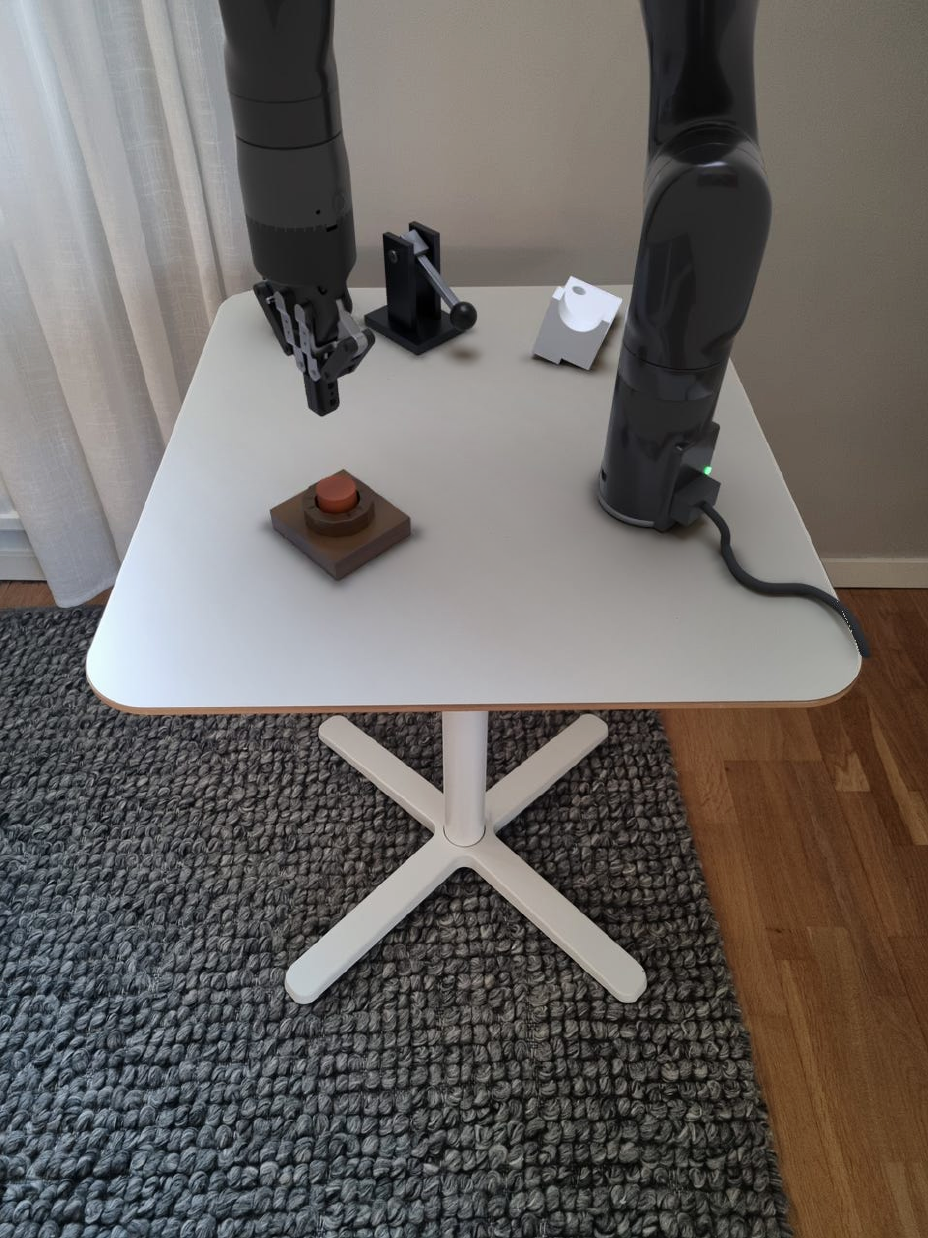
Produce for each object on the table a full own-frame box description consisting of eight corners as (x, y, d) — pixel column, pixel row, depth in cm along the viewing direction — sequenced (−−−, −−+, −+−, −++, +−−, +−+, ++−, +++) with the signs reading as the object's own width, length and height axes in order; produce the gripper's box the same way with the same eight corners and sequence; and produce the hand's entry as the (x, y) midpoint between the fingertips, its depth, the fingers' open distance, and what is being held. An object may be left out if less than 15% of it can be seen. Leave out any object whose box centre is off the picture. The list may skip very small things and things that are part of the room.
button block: (411, 534, 83) (409, 502, 80) (337, 580, 79) (332, 548, 76) (345, 485, 88) (341, 453, 85) (272, 527, 84) (265, 494, 81)
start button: (365, 502, 81) (363, 487, 79) (334, 520, 79) (332, 505, 78) (340, 484, 82) (339, 469, 81) (310, 501, 81) (308, 486, 79)
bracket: (585, 376, 103) (609, 323, 97) (531, 351, 103) (552, 296, 97) (611, 323, 111) (635, 270, 105) (561, 300, 111) (582, 246, 105)
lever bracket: (465, 331, 108) (466, 236, 99) (417, 355, 104) (414, 259, 95) (412, 301, 113) (408, 208, 104) (364, 323, 109) (356, 229, 100)
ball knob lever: (476, 330, 103) (486, 313, 100) (456, 340, 101) (466, 323, 98) (410, 244, 103) (418, 225, 100) (390, 252, 102) (398, 233, 99)
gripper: (199, 184, 62) (242, 393, 75) (311, 248, 56) (337, 464, 69) (285, 157, 65) (312, 361, 78) (400, 214, 59) (409, 426, 72)
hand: (324, 409), depth 73 cm, fingers closed
